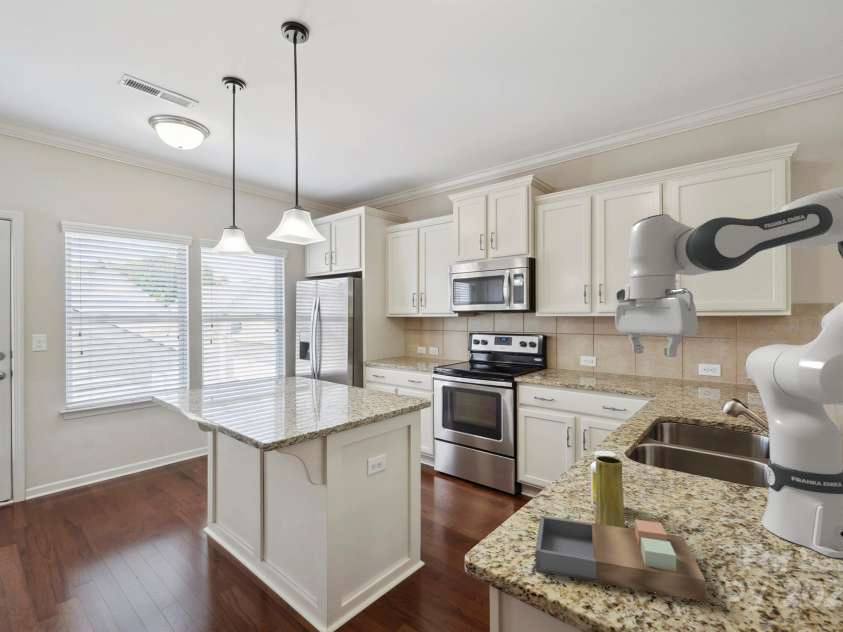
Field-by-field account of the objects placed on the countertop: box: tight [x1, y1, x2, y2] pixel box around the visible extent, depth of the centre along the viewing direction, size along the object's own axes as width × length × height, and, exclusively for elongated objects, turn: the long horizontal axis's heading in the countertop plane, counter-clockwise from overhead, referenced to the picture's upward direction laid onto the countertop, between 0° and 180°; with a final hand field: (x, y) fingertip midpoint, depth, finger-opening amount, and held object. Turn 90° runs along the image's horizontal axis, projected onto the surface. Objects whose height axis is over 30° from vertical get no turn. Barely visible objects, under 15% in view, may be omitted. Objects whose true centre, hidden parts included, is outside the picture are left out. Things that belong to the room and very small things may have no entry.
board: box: [591, 522, 707, 603], centre depth 74 cm, size 16×14×4 cm
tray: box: [534, 515, 597, 583], centre depth 79 cm, size 10×14×4 cm
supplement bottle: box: [590, 450, 617, 509], centre depth 98 cm, size 7×7×13 cm
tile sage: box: [641, 538, 676, 571], centre depth 70 cm, size 4×4×2 cm
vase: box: [594, 456, 626, 528], centre depth 90 cm, size 6×6×14 cm
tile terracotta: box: [634, 519, 667, 545], centre depth 77 cm, size 4×4×2 cm
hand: (653, 355), depth 89 cm, fingers open, 8 cm apart
